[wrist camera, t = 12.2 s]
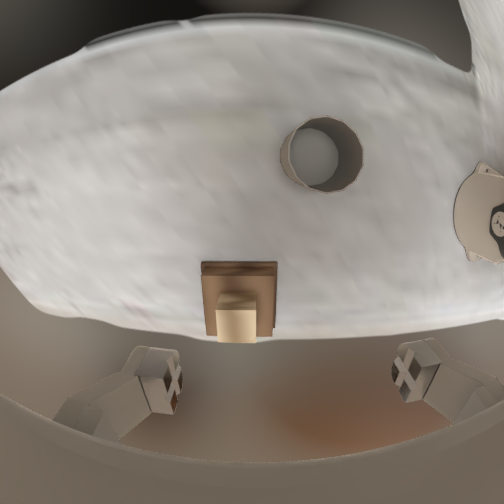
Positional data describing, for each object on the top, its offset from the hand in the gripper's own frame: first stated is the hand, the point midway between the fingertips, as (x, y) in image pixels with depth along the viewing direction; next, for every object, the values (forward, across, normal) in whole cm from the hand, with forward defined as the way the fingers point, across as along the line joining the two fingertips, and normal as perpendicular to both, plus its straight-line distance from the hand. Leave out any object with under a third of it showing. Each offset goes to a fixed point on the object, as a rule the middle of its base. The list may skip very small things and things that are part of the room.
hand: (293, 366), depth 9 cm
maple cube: (+27, +4, +13) cm, 30 cm away
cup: (+31, -6, -8) cm, 33 cm away
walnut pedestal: (+31, +4, +13) cm, 34 cm away
